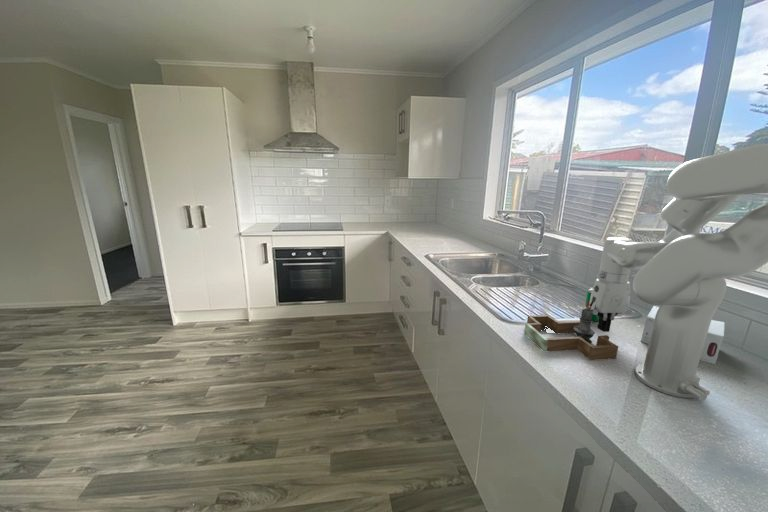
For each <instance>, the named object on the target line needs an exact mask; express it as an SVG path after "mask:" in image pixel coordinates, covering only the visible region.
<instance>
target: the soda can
mask: <svg viewBox="0 0 768 512" xmlns="http://www.w3.org/2000/svg"><path fill="white" fill-rule="evenodd" d="M592 289H593V287H589V288H588V289H587V290H586V297H585V301H584V302H585V303H584V307H583V309H585V308H587V307H588V306H589V309H591V307H590V305H589V303H590V297H591V293H592ZM592 320H593V322H592V323H595V322H598V320H599V317H597V315H594V314H592Z"/></svg>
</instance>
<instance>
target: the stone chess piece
mask: <svg viewBox="0 0 768 512" xmlns="http://www.w3.org/2000/svg"><path fill="white" fill-rule="evenodd" d="M592 314H593V311H592V310H591V309H589V306H588V307H587V308H585V309H584V308H583V309H582V310H581V314H580V315H581V316H580V317H579V321H580V324H579V326H575V327H574V331H575V333H574V334H575V335H574V336H573V337H581V338H583V339H584V340H586V341H587V342H588V343H590V344H591V345H592V343H593V340H592V338H593V336H594V335H595V334H596V332H595V330H594V329H592V328H591V327H592V323H594V322H593V320H592Z"/></svg>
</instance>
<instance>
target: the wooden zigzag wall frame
mask: <svg viewBox="0 0 768 512" xmlns="http://www.w3.org/2000/svg"><path fill="white" fill-rule="evenodd" d="M579 324H580V320H575V321H558V320H557V319H556V318H554V317H553V316H552V315H550V314H543V315H541V314H540V315H538V314H537V315H528V316H527V321H526V323H525V325H524V326H525V327H524V333H523V334H524V335H525V336H526V335H527V336H526V337H527V338H528V337H529V338H530V339H531V340H532V341H533V342H534V343H535V344H534V345H535V346H537V348H539V349H540V350H541V349H542V350H543V351H545V353H546V351H549V352H562V351H563V352H564V351H566V350H567V351H578V352H579V353H581V354H582V355H583V356H585V357H586V358H587V359H588V360H590V361H599V360H600V361H603V360H615V359H617V356H618V352H619V351H618V350H619V346H618V345H617V344H616V343H613V342H612V341H610V336H609V335H607V334H604V335H603V334H602V335H597V340H596V343H595V344H596V345H593V344H592V343H591V344H590V343H588V342H587V341H586V340H584V339H583V338H581V337H574V336H566V337H564V336H562V337H561V336H560V337H545V336H544V335H545V333H547V332H546V329H548V328H550V329H551V330H553V331H554V332H555V333H554V334H556V335H559V334H558V333H568V334H575V331H574V327H575V326H579ZM545 326H547V327H548V328H547V327H545ZM545 328H546V329H545ZM544 329H545V330H544ZM541 330H542V331H541ZM543 334H544V335H543ZM529 338H528V339H529ZM530 339H529V340H530ZM531 340H530V341H531ZM532 341H531V342H532ZM533 342H532V343H533ZM542 350H541V351H542ZM543 351H542V352H543Z"/></svg>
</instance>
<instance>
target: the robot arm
mask: <svg viewBox="0 0 768 512" xmlns="http://www.w3.org/2000/svg"><path fill="white" fill-rule="evenodd" d="M666 190H667V193H668V194H669V195H670V196H671V197H672V198H673V199H671V200H670V201H669V203H667V205H665V207H664V208H662V210H661V212H660V217H661V220H662V221H663V222H664V223H665V224H666V225H668V227H670V228H672V230H671V231H670V232H669V233H668V234H666V235H665V236H664V237H663V238H662V239H661V240H658V241H634V240H633V239H631V238H629V237H624V236H623V237H622V236H620V237H619V236H611V237H607V238H606V239H605V240H604V243H603V248H602V254H601V258H600V264H599V265H600V266H599V269H598V271H599V272H598V273H596V275H595V276H596V278H597V279H596V280H595V282H594V285H593V287H592V288H593V289H592V293H591V297H590V303H589V305H590V307H591V310H592V311H593V314H594V315H597V317H599V320H598V321H597V329H599V330H600V331H602V332H603V333H607V332H610V329H611V325H612V321H614V320H615V318H616V316H618V315H620V314H624V313H625V312H628V311H629V307H630V300H631V282H630V281H629V277H630V272H631V270H633V269H634V270H636V269H637V270H638V271H637V272H636V274H635V275H634V278H633V280H632V290H633V292H634V294H635V296H636V297H637V298H638V300H640V301H642V302H643V303H645V304H649V305H653V306H658V307H659V309H658V311H657V313H656V316H655V320H654V324H653V328H652V332H651V337H650V341H649V344H647V345H648V347H647V350H646V353H645V358H644V363H642V364H638V365H636V366H635V367H634V375H635V376H636V377H637V379H639V381H641V382H642V383H643V384H645V385H647V387H650V388H652V389H653V390H656V391H658V392H661V393H663V394H666V395H669V396H673V397H677V398H684V399H693V398H696V399H698V400H699V401H700V402H704V401H706V399H707V398H708V396H709V395H710V393H711V392H710V390H708V389H707V388H705V387H703V386H701V385H700V381H701V377H699V376H698V375H696V374H697V372H698V368H699V363H700V361H701V360H700V357H701V354H702V350H703V347H704V343H705V340H706V336H707V333H708V330H709V327H710V323H711V320H713V317H714V315H715V314H716V311H717V310H718V308H719V306H720V305H721V303H722V302H723V299H724V298H725V295H726V293H727V282H726V279H733V278H740V277H741V278H742V277H743V276H744V277H745V276H747V275H750V274H751V273H753V272H755V271H757V270H758V269H760V268H762V267H763V266H764V265H766V264H767V263H768V201H767V202H766V203H763V204H761V205H759V206H757V207H755V208H754V209H752V210H750V211H749V212H748V213H747V214H745V215H744V216H742V217H741V218H740V219H739V220H737V222H735V223H734V224H732V225H731V226H729V227H728V228H726V229H725V230H724V229H723V230H722V231H719V232H718V231H717V232H710V233H708V232H706V233H701V229H702V228H703V227H704V226H706V225H707V224H709V222H711V221H712V220H713V219H714V218H716V217H717V216H718V215H720V214H721V213H722V212H723V211H724V210H725V209H727V208H728V207H730V206H731V205H732V204H733V203H734V202H735V201H737V200H738V199H739V198H741V196H743V195H754V194H756V195H757V194H763V195H765V194H766V195H767V194H768V143H764V144H762V143H761V144H754V145H749V146H744V147H739V148H737V149H732V150H729V151H727V150H726V151H725V152H719V153H716V154H710V155H707V156H701V157H699V158H694V159H691V160H688V161H685V162H684V163H682V164H680V165H679V166H677V167H676V168H675V169H674V170H673V171H672V172H671V173H670V174H669V176H668V178H667V181H666Z"/></svg>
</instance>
